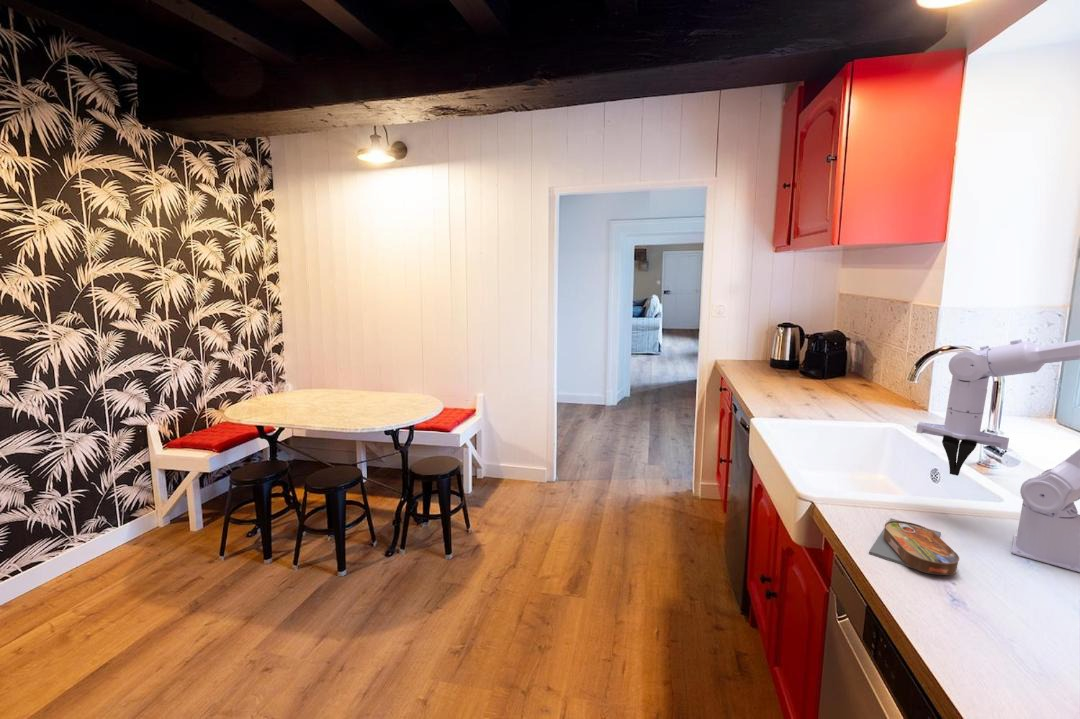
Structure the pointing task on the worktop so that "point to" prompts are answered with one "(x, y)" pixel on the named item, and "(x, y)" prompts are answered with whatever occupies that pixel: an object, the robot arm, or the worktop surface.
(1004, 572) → the worktop surface
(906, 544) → the tin
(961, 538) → the worktop surface
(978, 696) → the worktop surface
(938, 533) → the mat
